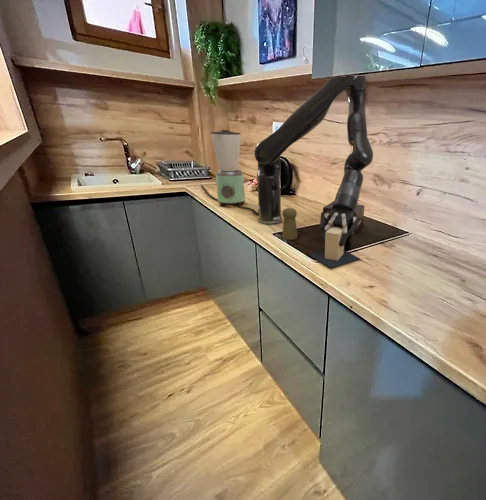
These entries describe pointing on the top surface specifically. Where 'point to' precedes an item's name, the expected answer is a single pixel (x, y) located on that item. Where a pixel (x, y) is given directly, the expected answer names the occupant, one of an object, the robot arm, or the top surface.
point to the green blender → (228, 168)
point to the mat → (333, 263)
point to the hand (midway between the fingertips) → (332, 244)
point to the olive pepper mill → (289, 224)
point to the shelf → (358, 213)
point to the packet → (333, 243)
